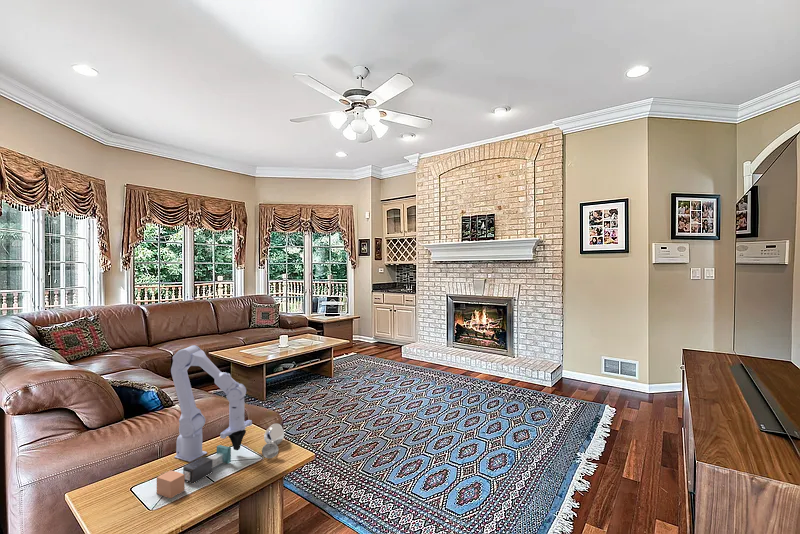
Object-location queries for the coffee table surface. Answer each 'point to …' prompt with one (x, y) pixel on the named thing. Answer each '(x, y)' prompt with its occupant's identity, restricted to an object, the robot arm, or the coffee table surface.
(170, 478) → the orange brown block
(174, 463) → the coffee table surface
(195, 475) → the dark grey rectangular bar
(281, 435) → the wineglass
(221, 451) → the grey and teal block
